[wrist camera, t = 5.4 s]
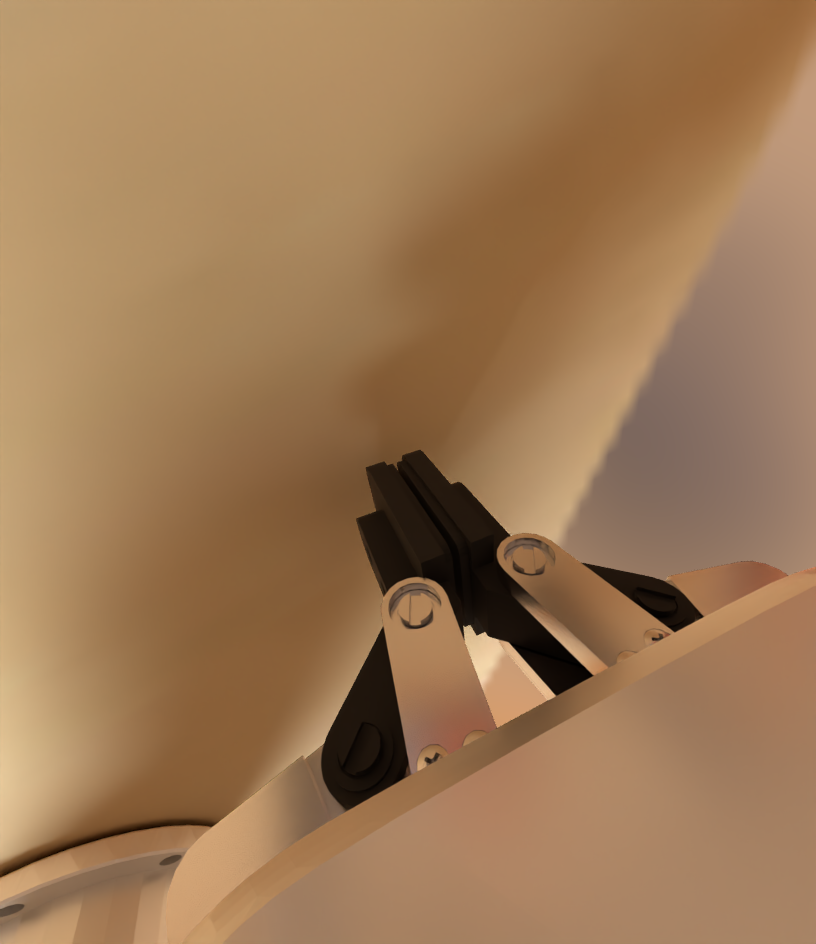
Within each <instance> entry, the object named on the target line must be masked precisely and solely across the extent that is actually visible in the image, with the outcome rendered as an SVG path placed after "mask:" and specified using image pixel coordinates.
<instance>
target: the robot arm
mask: <svg viewBox="0 0 816 944" xmlns="http://www.w3.org/2000/svg"><path fill="white" fill-rule="evenodd" d="M397 467H398V471H397V469H396V468H395V466H394V465H393V464H391V465H388V466H387V464H386V463H385V462H381V463H378V464H375V465H372V466H369V467H366V471H367V476H368V480H369V484H370V488H371V492H372V496H373V500H374V504H375V508H376V512H373V513H371V514H368V515H365V516H362V517H359V518H357V519H356V520H357V524H358V528H359V531H360V534H361V538H362V541H363V544H364V547H365V550H366V553H367V555H368V558H369V561H370V563H371V566H372V569H373V571H374V573H375V576H376V578H377V581H378V583H379V586H380V588H381V591H382V593H383V596H384V599H383V601H382V604H381V615H382V621H383V628H382V630H381V631H380V633H379V635H378V637H377V639H376V641H375V643H374V645H373V647H372V649H371V651H370V653H369V655H368V657H367V659H366V661H365V663H364V665H363V666H362V668H361V670H360V672H359V674H358V676H357V678H356V680H355V682H354V684H353V686H352V688H351V690H350V692H349V694H348V696H347V698H346V700H345V701H344V703H343V705H342V707H341V709H340V711H339V713H338V715H337V717H336V719H335V721H334V723H333V725H332V727H331V729H330V731H329V733H328V735H327V737H326V740H325V743H324V744H323V745H322V746H321V747H320V748H318V749H317V750H316V751H315V752H313V753H312V754H311V755H310V756H308V757H307V758H306V759H305V758H304V756H301V757H300V758H299V759H297V760H296V761H295V762H294V763H292V764H291V765H290V766H289V767H287V768H286V769H285V770H284V771H282V772H281V773H280V774H279V775H277V776H276V777H275V778H274V779H272V780H271V781H270V782H269V783H267V784H266V785H265V786H263V787H262V788H261V789H260V790H258V791H257V792H256V793H255V794H253V795H252V796H251V797H250V798H248V799H247V800H246V801H245V802H243V803H242V804H241V805H240V806H238V807H237V808H236V809H235V810H233V811H232V812H231V813H230V814H228V815H227V816H226V817H224V818H223V819H222V820H221V821H219V822H218V823H217V824H216V825H214V826H213V827H209V826H198V825H179V826H164V827H157V828H151V829H144V830H138V831H133V832H129V833H124V834H120V835H116V836H111V837H107V838H103V839H100V840H96V841H93V842H90V843H87V844H83V845H80V846H77V847H73V848H70V849H67V850H65V851H62V852H59V853H57V854H54V855H51V856H49V857H46V858H43V859H41V860H38V861H35V862H33V863H31V864H29V865H27V866H24V867H22V868H20V869H18V870H16V871H13V872H11V873H9V874H7V875H5V876H2V877H0V944H816V567H813V568H809V569H806V570H803V571H800V572H796V573H794V574H791V575H787V574H786V573H784V572H782V571H781V570H779V569H777V568H775V567H772V566H770V565H767V564H764V563H759V562H754V561H741V562H736V563H731V564H726V565H721V566H716V567H711V568H706V569H701V570H696V571H691V572H686V573H681V574H676V575H671V576H668V577H667V580H666V581H663V580H660V579H656V578H653V577H649V576H644V575H639V574H635V573H630V572H624V571H620V570H615V569H610V568H605V567H600V566H595V565H590V564H586V563H581V562H579V561H578V560H576V559H575V558H574V557H572V556H571V555H570V554H568V553H567V552H566V551H564V550H563V549H562V548H560V547H559V546H558V545H556V544H555V543H554V542H552V541H551V540H549V539H547V538H545V537H543V536H540V535H537V534H531V533H521V534H515V535H512V536H510V535H509V534H508V533H507V532H506V531H505V529H504V528H503V527H502V526H501V525H500V524H499V523H498V522H497V521H496V520H495V518H494V517H493V516H492V515H491V514H490V513H489V512H488V511H487V510H486V509H485V508H484V506H483V505H482V504H481V503H480V502H479V501H478V500H477V499H476V498H475V497H474V496H473V494H472V493H471V492H470V491H469V490H468V489H467V488H466V487H465V486H464V485H463V484H462V483H460V482H457V483H454V484H450V483H449V482H448V481H447V479H446V478H445V477H444V476H443V475H442V474H441V472H440V471H439V470H438V469H437V468H436V467H435V466H434V464H433V463H432V462H431V461H430V460H429V459H428V457H427V456H426V455H425V454H424V453H423V452H422V451H421V450H417V451H414V452H411V453H408V454H405V455H403V456H402V461H400V462H397ZM463 625H464V626H465V627H466V626H468V625H471V627H472V628H473V630H474V632H475V633H476V635H479V634H481V633H483V632H486V634H487V635H488V636H489V637H492V638H495V639H499V643H500V644H501V646H502V647H503V649H504V650H505V651H506V653H507V654H508V655H509V656H510V657H511V658H512V660H513V661H514V662H515V663H516V664H517V666H518V667H519V668H520V669H521V670H522V671H523V673H524V674H525V675H526V676H527V677H528V678H529V680H530V681H531V682H532V683H533V684H534V685H535V686H536V688H537V689H538V690H539V691H540V692H541V694H542V695H543V696H544V697H545V698H546V699H547V701H546V702H544V703H543V704H541V705H539V706H537V707H535V708H533V709H532V710H530V711H528V712H526V713H524V714H522V715H520V716H519V717H517V718H515V719H513V720H511V721H509V722H508V723H506V724H504V725H502V726H500V727H498V728H497V727H496V724H495V722H494V719H493V716H492V713H491V711H490V708H489V705H488V703H487V700H486V697H485V695H484V692H483V689H482V687H481V684H480V681H479V679H478V676H477V673H476V671H475V668H474V665H473V663H472V660H471V657H470V655H469V652H468V649H467V647H466V644H465V640H464V629H463Z"/></svg>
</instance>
